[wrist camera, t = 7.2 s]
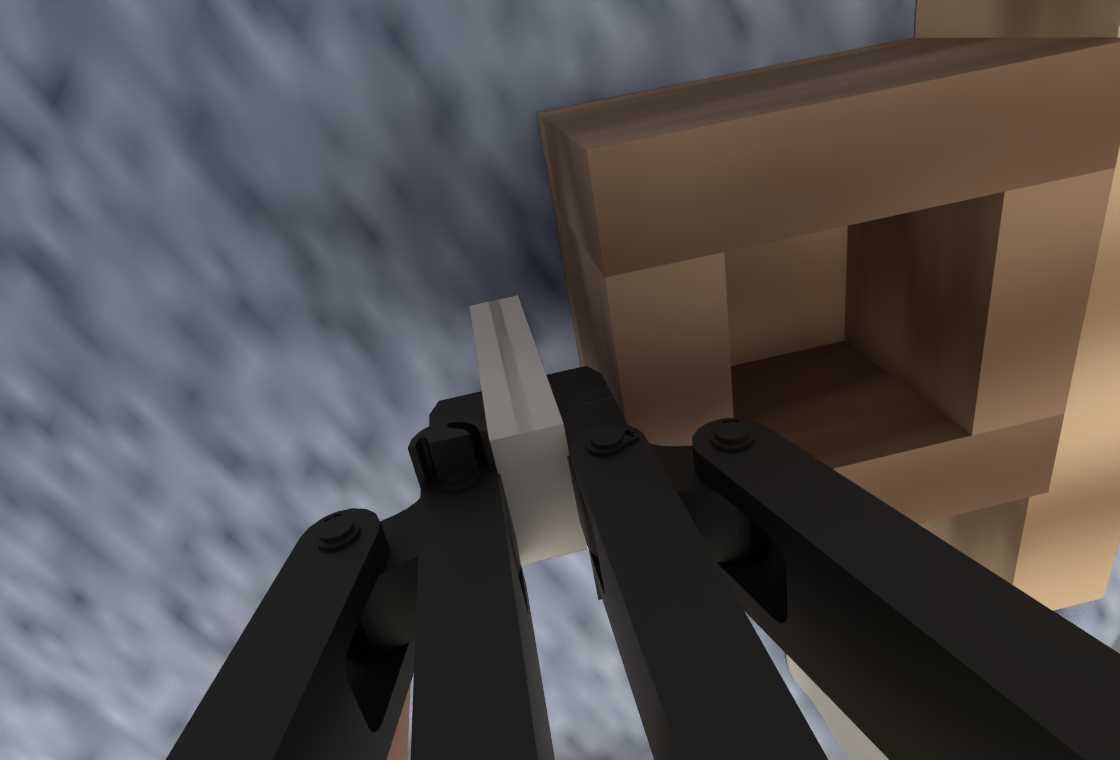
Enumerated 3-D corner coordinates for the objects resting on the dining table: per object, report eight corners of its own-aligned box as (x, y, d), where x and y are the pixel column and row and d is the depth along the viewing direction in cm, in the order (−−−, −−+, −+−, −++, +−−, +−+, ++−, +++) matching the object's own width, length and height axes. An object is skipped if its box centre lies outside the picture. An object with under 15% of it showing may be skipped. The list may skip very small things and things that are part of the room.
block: (537, 112, 17) (586, 149, 11) (914, 37, 18) (1142, 37, 12) (594, 444, 22) (649, 590, 16) (891, 375, 22) (1048, 492, 17)
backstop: (930, -207, 15) (1188, -337, 10) (1054, -230, 16) (1371, -367, 10) (883, 497, 25) (1005, 622, 19) (961, 478, 25) (1103, 597, 20)
